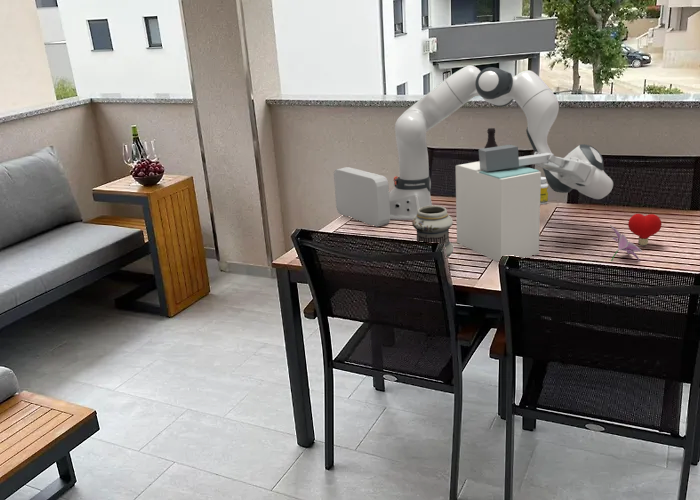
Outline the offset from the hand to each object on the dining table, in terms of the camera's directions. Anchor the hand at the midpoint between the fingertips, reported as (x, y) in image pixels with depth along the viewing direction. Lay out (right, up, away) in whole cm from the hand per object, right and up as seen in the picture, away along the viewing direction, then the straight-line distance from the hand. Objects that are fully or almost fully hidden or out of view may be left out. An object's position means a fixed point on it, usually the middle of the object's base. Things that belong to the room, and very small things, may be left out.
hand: (542, 155), depth 200 cm
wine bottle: (-4, -12, +55) cm, 56 cm away
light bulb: (+32, -27, +3) cm, 42 cm away
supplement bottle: (+15, -10, +55) cm, 59 cm away
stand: (-12, -28, +10) cm, 32 cm away
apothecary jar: (-33, -34, -1) cm, 47 cm away
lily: (+22, -32, -6) cm, 39 cm away
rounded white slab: (-53, -17, +51) cm, 76 cm away
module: (-8, -3, 0) cm, 8 cm away
